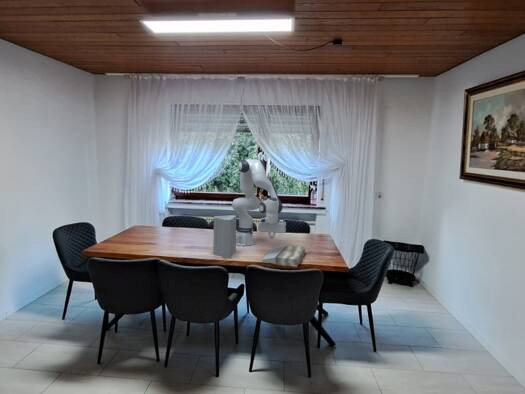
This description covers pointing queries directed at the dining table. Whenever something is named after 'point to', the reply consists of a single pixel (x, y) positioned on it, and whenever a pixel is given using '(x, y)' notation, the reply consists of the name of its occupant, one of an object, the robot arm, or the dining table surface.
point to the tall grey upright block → (224, 236)
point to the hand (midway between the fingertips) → (271, 238)
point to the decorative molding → (273, 255)
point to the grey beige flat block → (291, 256)
